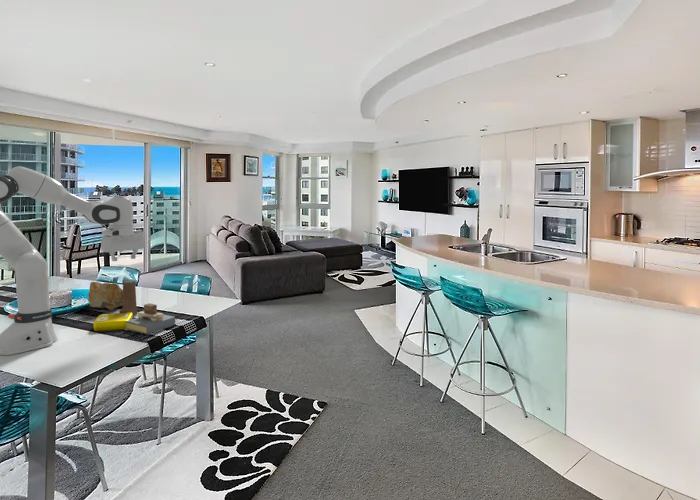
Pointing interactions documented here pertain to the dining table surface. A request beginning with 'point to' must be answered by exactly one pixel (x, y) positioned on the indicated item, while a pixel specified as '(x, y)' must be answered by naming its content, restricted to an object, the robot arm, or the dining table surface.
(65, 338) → the dining table surface
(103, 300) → the rough brown rock
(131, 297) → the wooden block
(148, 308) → the brown box
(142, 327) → the dock
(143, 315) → the tan stepped block
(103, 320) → the element tile
